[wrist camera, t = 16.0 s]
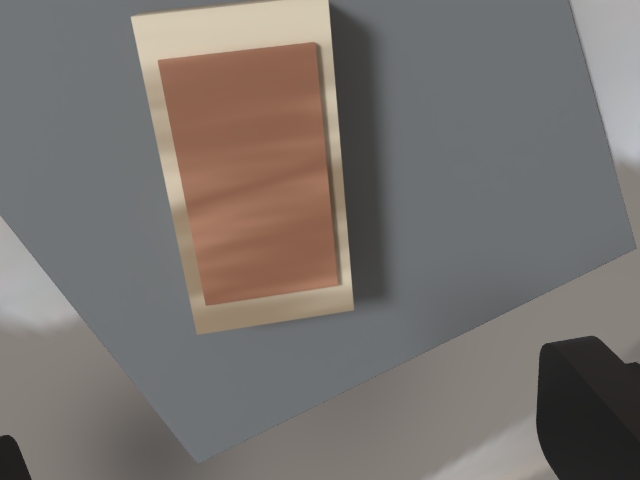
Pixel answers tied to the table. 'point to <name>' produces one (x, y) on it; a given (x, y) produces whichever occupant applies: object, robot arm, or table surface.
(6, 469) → the robot arm
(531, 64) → the mat
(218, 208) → the card box
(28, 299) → the table surface
